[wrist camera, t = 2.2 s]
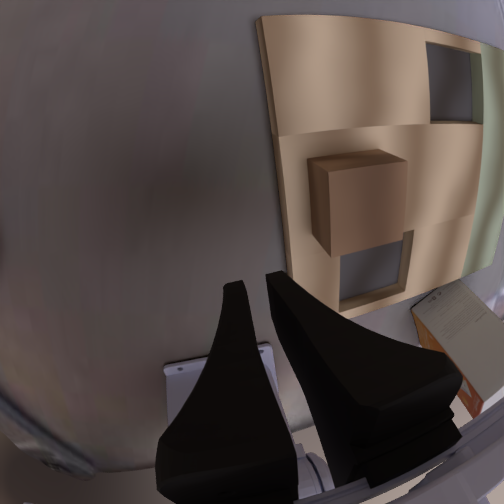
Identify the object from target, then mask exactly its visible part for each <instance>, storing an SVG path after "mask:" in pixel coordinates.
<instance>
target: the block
mask: <svg viewBox="0 0 504 504" xmlns="http://www.w3.org/2000/svg"><path fill="white" fill-rule="evenodd" d="M307 167H308V180H309V193H310V207H311V223H312V235H313V236H314V238H315V239H316V240H317V241H318V243H319V244H320V245H321V246H322V247H323V249H324V250H325V251H326V252H327V254H328V255H329V256H330V257H331V258H334V257H338V256H342V255H346V254H350V253H354V252H357V251H361V250H365V249H369V248H373V247H377V246H381V245H384V244H388V243H392V242H396V241H400V240H403V231H404V221H405V209H406V194H407V173H408V161H406V160H404V159H402V158H399V157H397V156H395V155H392V154H390V153H388V152H385V151H383V150H380V149H376V150H366V151H358V152H350V153H342V154H334V155H327V156H320V157H313V158H307Z"/></svg>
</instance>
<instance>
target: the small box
mask: <svg viewBox="0 0 504 504" xmlns="http://www.w3.org/2000/svg"><path fill="white" fill-rule="evenodd" d="M411 312H412V314H413V317H414V321H415V324H416V328H417V331H418V336H419V340H420V345H421V346H422V347H423V348H425V349H430V350H435V351H439V352H444V353H445V354H446V355H447V356H448V357H449V358H450V359H451V360H452V362H453V363H454V364H455V366H456V367H457V368H458V370H459V371H460V373H461V374H462V375H463V382H462V385H461V388H460V390H459V391H458V393H457V395H458V397H459V398H460V400H461V401H462V403H463V404H464V406H465V407H466V409H467V410H468V412H469V413H470V415H471V416H472V418H473V419H474V418H475V417H477V416H478V415H480V414H481V413H483V412H484V411H485V410H487V409H488V408H489V407H491V406H492V405H493V404H495V403H496V402H497V401H499V400H500V399H501V398H503V397H504V323H503V322H502V321H501V319H500V318H499V317H498V316H497V315H496V314H495V313H494V312H492V311H491V310H490V309H489V308H488V307H487V306H486V305H485V304H484V303H483V302H482V301H481V300H480V299H479V298H478V297H477V296H476V295H475V294H474V293H473V292H472V291H471V290H470V289H469V288H468V287H467V286H466V285H465V284H464V283H463V282H461V281H460V280H459V279H457V280H455V281H452V282H450V283H447V284H445V285H442V286H440V287H438V288H437V289H436V290H434V291H433V292H432V293H431V294H429V295H428V296H427V297H426V298H424V299H423V300H422V301H421V302H419V303H418V304H417V305H416V306H414V307H413V308H412V309H411Z"/></svg>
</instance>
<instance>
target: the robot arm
mask: <svg viewBox="0 0 504 504" xmlns="http://www.w3.org/2000/svg"><path fill="white" fill-rule="evenodd" d="M265 275H266V282H267V289H268V297H269V304H270V311H271V317H272V320H273V323H274V326H275V330H276V333H277V336H278V339H279V341H280V343H281V345H282V347H283V350H284V352H285V354H286V356H287V358H288V360H289V362H290V364H291V366H292V369H293V371H294V373H295V375H296V377H297V379H298V381H299V383H300V385H301V388H302V390H303V392H304V395H305V397H306V400H307V403H308V406H309V409H310V412H311V414H312V417H313V420H314V423H315V426H316V429H317V432H318V435H319V438H320V441H321V444H322V447H323V450H324V454H325V457H326V460H327V463H328V465H327V464H326V462H325V461H324V460H323V459H322V458H320V457H318V456H317V455H316V454H314V453H311V452H310V453H306V454H305V452H304V449H303V446H302V444H301V443H300V444H295V442H294V439H293V436H292V433H291V430H290V428H289V425H288V422H287V419H286V416H285V413H284V410H283V407H282V404H281V401H280V398H279V395H278V393H279V391H278V384H277V377H276V370H275V364H274V357H273V350H272V346H271V344H268V343H265V344H261V345H257V341H256V336H255V331H254V326H253V321H252V316H251V311H250V305H249V300H248V295H247V290H246V288H245V285H244V282H243V280H240V281H235V282H231V283H227V284H225V285H224V286H223V303H222V310H221V315H220V320H219V324H218V328H217V331H216V335H215V338H214V342H213V345H212V348H211V350H210V353H209V356H208V357H204V358H199V359H194V360H189V361H184V362H179V363H174V364H168V365H165V366H164V368H163V370H164V373H165V375H166V390H167V417H168V428H167V429H166V430H165V432H164V433H163V434H162V436H161V437H160V438H159V442H158V447H157V453H156V463H155V472H156V484H157V490H158V491H159V492H160V493H161V494H162V495H163V496H164V497H166V498H168V499H169V500H171V501H172V502H174V503H176V504H359V503H361V502H364V501H366V500H369V499H371V498H374V497H376V496H378V495H380V494H383V493H385V492H387V491H389V490H391V489H394V488H396V487H398V486H400V485H402V484H404V483H406V482H408V481H410V480H412V479H414V478H416V477H417V476H419V475H421V474H423V473H425V472H427V471H428V470H430V469H432V468H433V467H435V466H437V465H439V464H440V463H442V462H443V463H442V464H440V465H439V466H437V467H436V468H435V469H433V470H432V471H430V472H429V473H427V474H426V476H425V478H424V479H423V480H421V481H420V482H419V483H418V484H417V485H416V486H414V487H413V488H411V489H410V490H409V492H408V493H407V494H405V495H403V496H401V497H399V498H397V499H395V500H393V501H391V502H388V503H386V504H490V503H489V501H488V499H487V497H486V495H487V494H489V493H490V492H491V491H492V490H493V489H494V488H496V487H497V486H498V485H499V484H500V483H501V482H502V481H504V397H503V398H501V399H500V400H499V401H497V402H496V403H495V404H493V405H492V406H491V407H489V408H488V409H487V410H485V411H484V412H483V413H481V414H480V415H478V416H477V417H475V418H474V419H473V420H471V421H470V422H468V423H467V424H465V425H464V426H462V427H460V428H459V429H458V428H457V427H456V425H455V424H454V422H453V421H452V418H453V417H454V413H453V411H452V410H451V408H450V407H449V406H450V404H451V403H452V401H453V400H454V398H455V396H456V395H457V393H458V391H459V390H460V388H461V385H462V382H463V375H462V374H461V373H460V371H459V370H458V368H457V367H456V366H455V364H454V363H453V362H452V360H451V359H450V358H449V357H448V356H447V355H446V354H445V353H444V352H439V351H435V350H430V349H425V348H421V347H416V346H413V345H409V344H406V343H403V342H400V341H397V340H394V339H391V338H388V337H385V336H383V335H381V334H378V333H376V332H373V331H371V330H369V329H366V328H364V327H362V326H360V325H358V324H356V323H354V322H353V321H351V320H349V319H347V318H345V317H344V316H342V315H340V314H339V313H337V312H335V311H334V310H332V309H331V308H329V307H328V306H326V305H325V304H324V303H322V302H321V301H319V300H318V299H317V298H315V297H314V296H313V295H311V294H310V293H309V292H307V291H306V290H305V289H304V288H302V287H301V286H300V285H299V284H298V283H296V282H295V281H294V280H293V279H292V278H291V277H290V276H288V275H287V274H286V273H285V272H284V271H278V272H273V273H269V274H265ZM259 350H260V351H259ZM179 367H181V368H179ZM445 460H446V461H445ZM444 461H445V462H444ZM24 504H33V503H28V502H25V503H24Z"/></svg>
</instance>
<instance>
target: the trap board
mask: <svg viewBox="0 0 504 504" xmlns="http://www.w3.org/2000/svg"><path fill="white" fill-rule="evenodd" d="M255 23H256V29H257V35H258V41H259V48H260V54H261V61H262V67H263V74H264V81H265V88H266V95H267V102H268V109H269V116H270V124H271V131H272V139H273V147H274V155H275V163H276V171H277V180H278V188H279V197H280V206H281V215H282V224H283V233H284V243H285V253H286V263H287V274H288V276H290V277H291V278H292V279H293V280H294V281H295V282H296V283H298V284H299V285H300V286H301V287H302V288H304V289H305V290H306V291H307V292H309V293H310V294H311V295H313V296H314V297H315V298H317V299H318V300H319V301H321V302H322V303H324V304H325V305H326V306H328V307H329V308H331V309H332V310H334V311H335V312H337V313H339V314H340V315H342V316H344V317H345V318H347V319H350V318H353V317H356V316H359V315H362V314H365V313H368V312H371V311H374V310H377V309H380V308H383V307H386V306H389V305H392V304H394V303H397V302H400V301H403V300H405V299H408V298H411V297H414V296H416V295H419V294H422V293H424V292H427V291H430V290H432V289H435V288H437V287H440V286H442V285H445V284H447V283H450V282H452V281H455V280H457V279H459V278H462V277H464V276H467V275H469V274H471V273H474V272H476V271H478V270H481V269H483V268H485V267H487V266H490V265H492V262H493V258H494V254H495V251H496V247H497V243H498V239H499V234H500V230H501V226H502V221H503V216H504V51H503V50H501V49H498V48H495V47H492V46H490V45H487V44H484V43H481V42H478V41H474V40H471V39H468V38H465V37H461V36H457V35H454V34H450V33H446V32H442V31H438V30H434V29H429V28H425V27H420V26H415V25H409V24H404V23H398V22H391V21H384V20H377V19H368V18H358V17H346V16H329V15H275V16H261V17H260V18H259V19H258V20H257V21H256V22H255ZM376 149H380V150H383V151H385V152H388V153H390V154H392V155H395V156H397V157H399V158H402V159H404V160H406V161H408V173H407V194H406V209H405V221H404V231H403V240H400V241H396V242H392V243H388V244H384V245H381V246H377V247H373V248H369V249H365V250H361V251H357V252H354V253H350V254H346V255H342V256H338V257H334V258H331V257H330V256H329V255H328V254H327V252H326V251H325V250H324V249H323V247H322V246H321V245H320V244H319V243H318V241H317V240H316V239H315V238H314V236H313V235H312V223H311V207H310V193H309V180H308V167H307V158H313V157H320V156H327V155H334V154H342V153H350V152H358V151H366V150H376Z"/></svg>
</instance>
